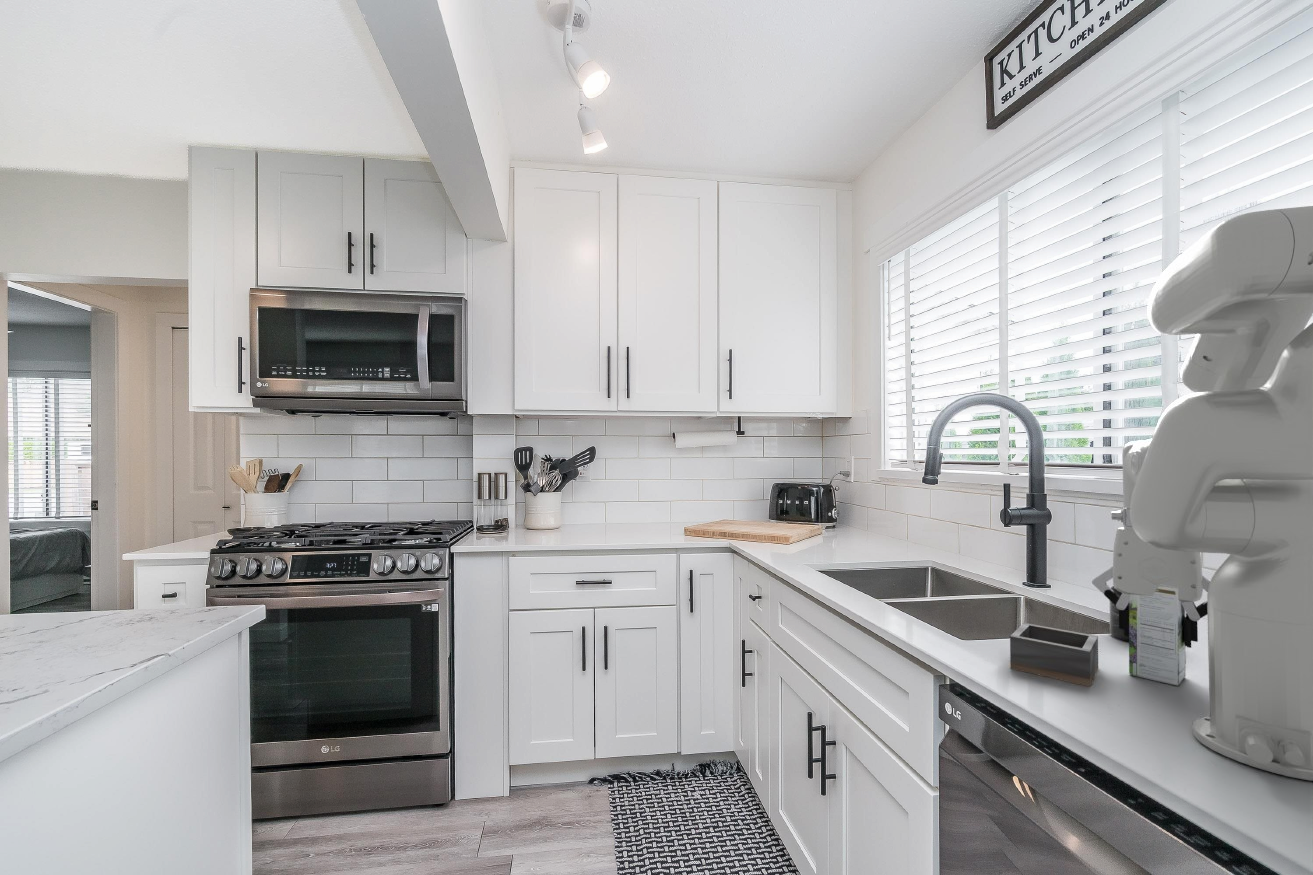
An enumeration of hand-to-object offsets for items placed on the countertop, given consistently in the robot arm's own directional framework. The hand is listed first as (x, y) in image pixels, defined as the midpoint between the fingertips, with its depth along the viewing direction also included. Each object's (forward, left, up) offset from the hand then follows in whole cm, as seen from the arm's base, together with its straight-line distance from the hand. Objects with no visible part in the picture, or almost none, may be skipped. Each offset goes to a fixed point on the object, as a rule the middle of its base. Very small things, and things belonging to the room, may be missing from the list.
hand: (1157, 638), depth 86 cm
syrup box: (0, 0, -6) cm, 6 cm away
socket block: (-7, +12, -6) cm, 15 cm away
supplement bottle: (+21, +4, -6) cm, 22 cm away
